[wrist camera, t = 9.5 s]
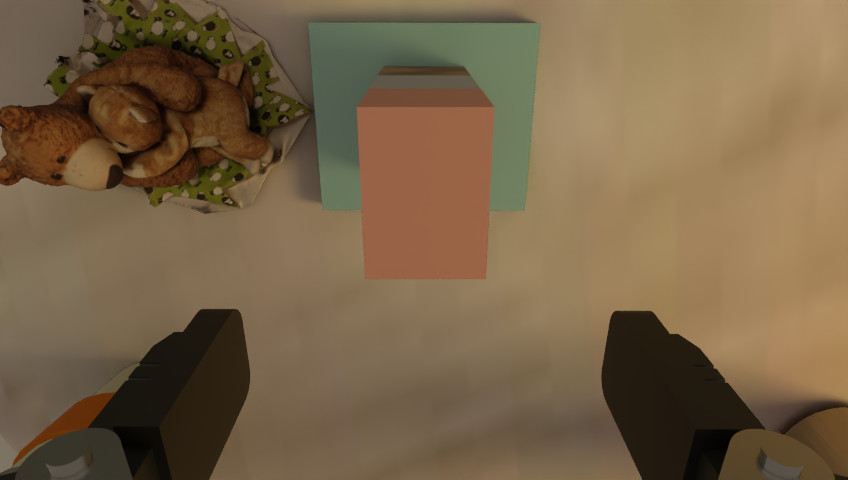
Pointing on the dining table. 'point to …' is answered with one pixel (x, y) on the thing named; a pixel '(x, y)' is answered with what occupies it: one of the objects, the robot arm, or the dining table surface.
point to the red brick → (425, 182)
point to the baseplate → (422, 46)
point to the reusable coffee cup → (75, 417)
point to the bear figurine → (159, 109)
